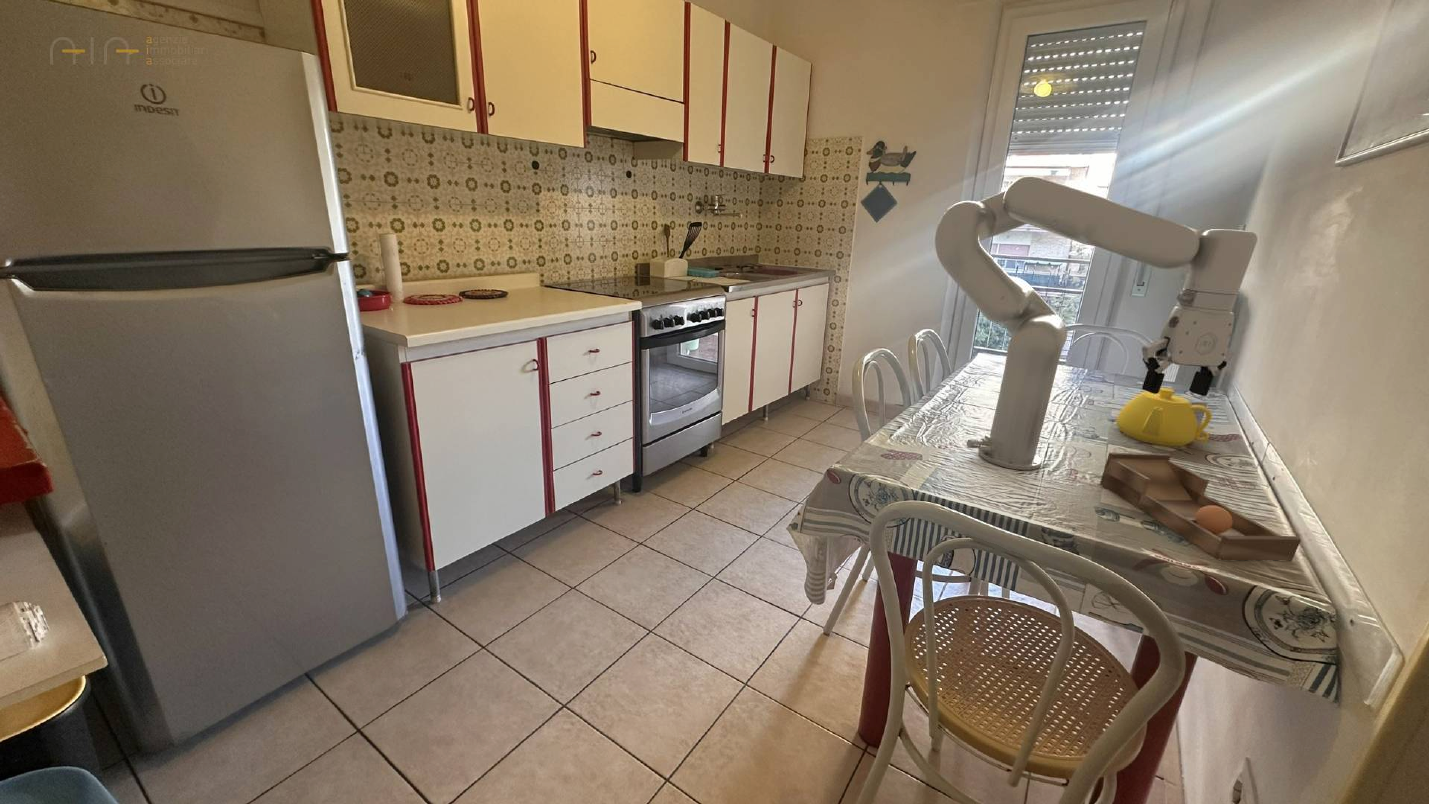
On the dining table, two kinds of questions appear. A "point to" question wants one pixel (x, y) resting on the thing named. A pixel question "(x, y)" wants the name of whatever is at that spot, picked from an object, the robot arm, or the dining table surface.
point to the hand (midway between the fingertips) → (1173, 392)
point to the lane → (1189, 507)
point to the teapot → (1162, 419)
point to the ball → (1214, 519)
